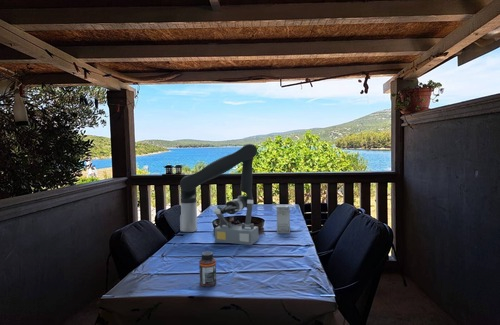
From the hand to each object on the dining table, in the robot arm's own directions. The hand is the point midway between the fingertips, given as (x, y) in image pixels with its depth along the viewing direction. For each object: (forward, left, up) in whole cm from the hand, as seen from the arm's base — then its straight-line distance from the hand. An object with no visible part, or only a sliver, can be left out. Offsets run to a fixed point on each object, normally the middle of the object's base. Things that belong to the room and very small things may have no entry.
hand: (220, 212), depth 164 cm
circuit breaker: (+24, +35, -16) cm, 45 cm away
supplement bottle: (+19, -47, -16) cm, 53 cm away
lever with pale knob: (0, +6, -7) cm, 9 cm away
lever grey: (+13, +6, -7) cm, 16 cm away
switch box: (+6, +6, -16) cm, 18 cm away
